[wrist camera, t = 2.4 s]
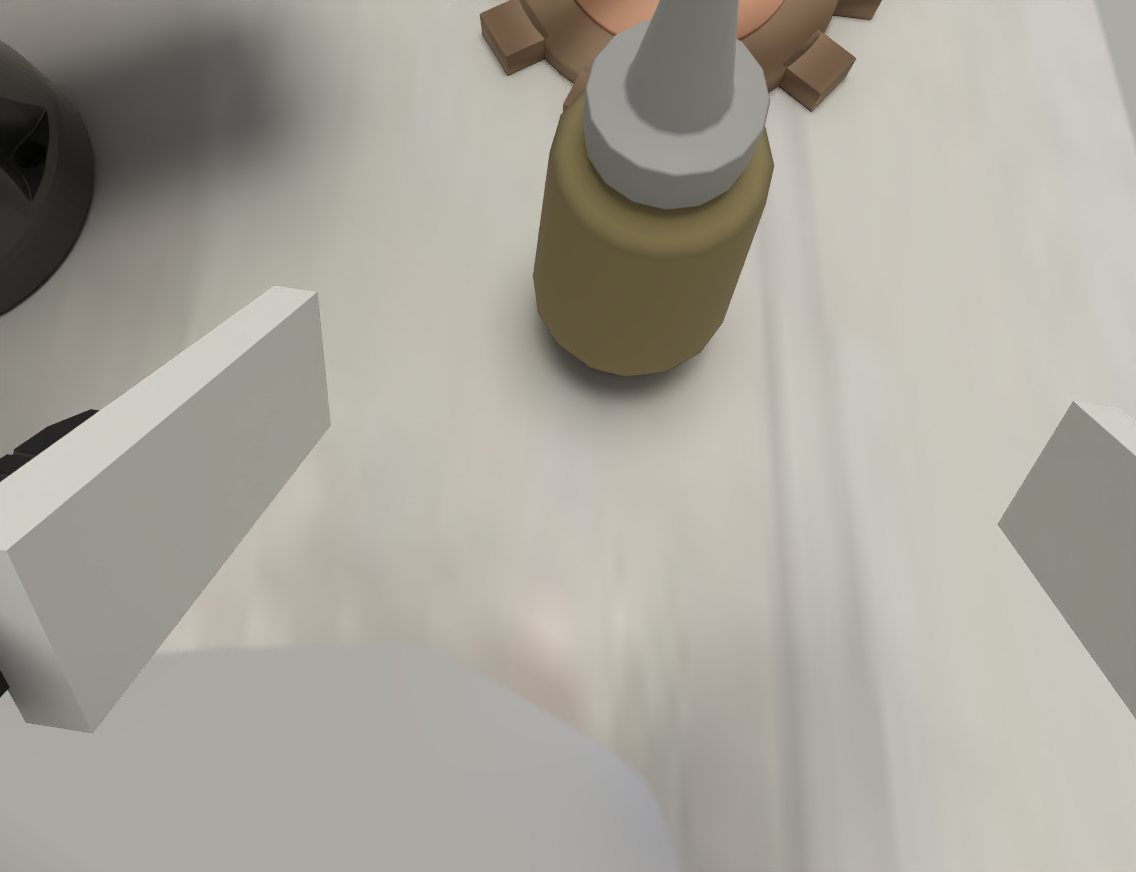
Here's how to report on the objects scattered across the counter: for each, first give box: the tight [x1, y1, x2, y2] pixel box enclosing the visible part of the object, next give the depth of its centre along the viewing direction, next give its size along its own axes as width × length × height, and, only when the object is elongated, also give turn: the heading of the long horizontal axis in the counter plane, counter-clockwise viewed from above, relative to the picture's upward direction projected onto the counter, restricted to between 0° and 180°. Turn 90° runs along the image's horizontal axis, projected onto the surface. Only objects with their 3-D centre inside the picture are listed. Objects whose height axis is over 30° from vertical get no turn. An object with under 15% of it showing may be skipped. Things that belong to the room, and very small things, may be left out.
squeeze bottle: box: [533, 0, 774, 376], centre depth 22 cm, size 8×8×18 cm
